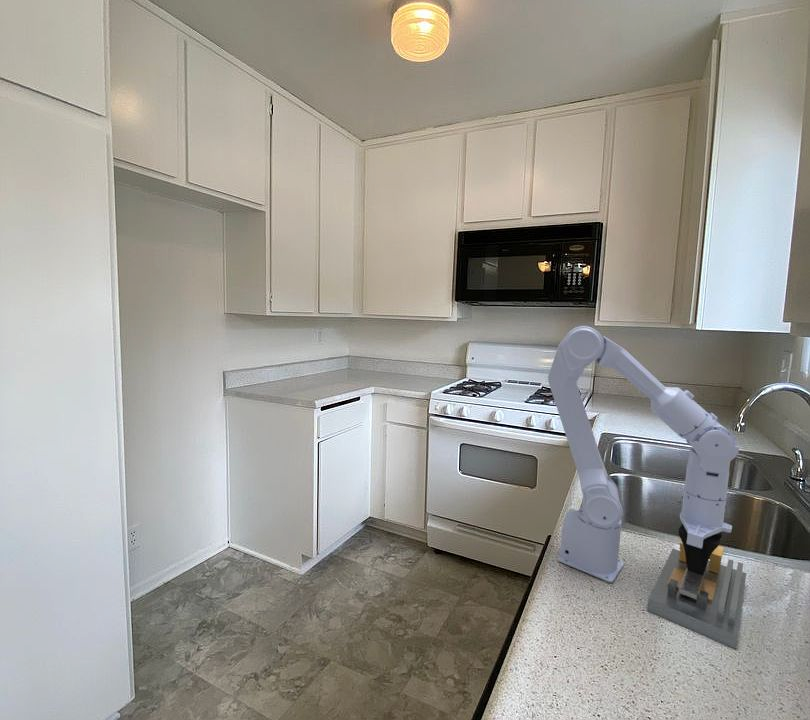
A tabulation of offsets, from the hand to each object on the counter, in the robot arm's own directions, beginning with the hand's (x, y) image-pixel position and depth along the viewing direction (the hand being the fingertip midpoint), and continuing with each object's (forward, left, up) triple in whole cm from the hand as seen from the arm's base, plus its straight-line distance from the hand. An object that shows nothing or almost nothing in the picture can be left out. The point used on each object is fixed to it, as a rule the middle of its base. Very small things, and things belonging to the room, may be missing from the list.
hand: (695, 570), depth 72 cm
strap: (0, -3, -1) cm, 3 cm away
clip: (0, +6, -1) cm, 6 cm away
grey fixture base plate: (+1, -2, -3) cm, 4 cm away
